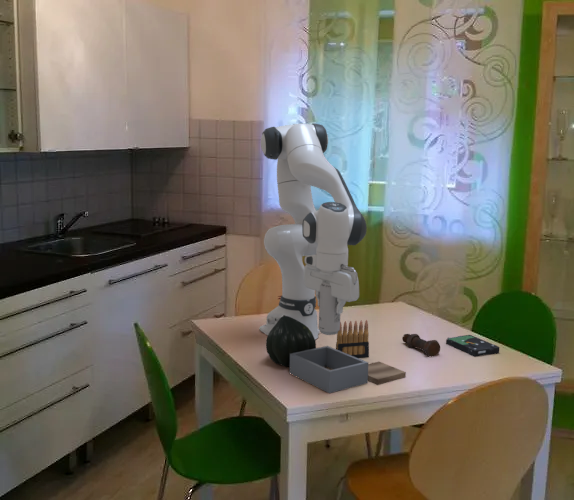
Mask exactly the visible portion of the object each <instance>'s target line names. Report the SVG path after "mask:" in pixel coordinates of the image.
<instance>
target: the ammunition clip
mask: <svg viewBox="0 0 574 500" xmlns="http://www.w3.org/2000/svg"><path fill="white" fill-rule="evenodd" d="M353 323H354V324H353ZM369 336H370V335H369V323H368V320H367V319H366V320H365V322H364V324H363V321H362V320H360V322H359V326H358V321H357V320H355V321H354V322H352V320H350V321H349V323H348V324H347V321H346V320H345V321H344V323H343V326H342V322H341V321H340V330H339V331H338V333H337V334H336V342H335V343H336V344H335V349H337V350H339V351H341V352H344V353H346V354H349V355H351V356H354V357H356V358H359V359H367V358H370V341H369Z"/></svg>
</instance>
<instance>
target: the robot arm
mask: <svg viewBox="0 0 574 500" xmlns="http://www.w3.org/2000/svg"><path fill="white" fill-rule="evenodd" d="M328 144H329V136H328V132H327V130H326V128H325V126H324V125H322V124H320V123H311V124H310V123H309V124H308V123H301V122H300V123H292V124H287V125H281V126H280V125H279V126H271V127H268V128H265V129H264V131H263V132H262V133H261V137H260V148H261V151H262V153H263V156H264V157H266V159H270V160H273V161H275V160H276V161H277V162H276V163H277V164H276V183H277V194H278V202H279V206H280V209H281V210H282V211H283V212H286V213H287V214H289V215H290V217H292V219H293V221H294V223H292V224H291V223H290V224H289V223H288V224H281V225H277V226H273V227H270V228H268V230H267V231H266V232H265V234H264V237H263V245H264V248H265V251H266V252H267V254H268V255H269V256H270V257H272V258H273V259H274V260H275V261H276V263H277V265H278V266H279V269H280V272H281V273H280V274H281V282H282V283H281V284H282V288H281V289H282V290H281V291H282V294H281V295H278V296H277V300H279V302H278V305H277V306H276V307H275V308H274V309H272V310H270V311H269V312H268V313H267V315H266V321H265V323H266V324H263V325H261V326H260V327H259V331H260V332H261V333H264V335H266V336H268V334H269V332H270V331H271V330H272V328H273V327H274V326H275V325H276V323H277V322H278V320H279V319H280V318H281V317H282V316H283V315H285V316H289V317H291V318H293V319H296V320H297V321H299V322H301V323H303V324H304V325H305V326H307V327H308V328H309V330H310V331H311V332H312V334H313V336H314V339H315V340H317V339H318V338H319V334H321V332H320V330H319V329H318V328H319V322H318V313H317V310H316V307H317V306H318V307H319V302H320V285H321V284H322V282H323V281H326V282H330V286H331V295H332V296H333V297H336V298H337V302H339V303H338V305H337V306H336V307H335V313H338V314H340V315H342V314H343V312H344V307H345V305H346V304H347V302H348V303H351V302H355V301H357V300H358V299H359V298H360V284H359V283H360V282H359V277H358V272H357V270H356V269H355V268H354V267H353V266H348V265H349V248H348V247H349V246H356V245H358V244H359V243H360V242H361V241H362V240H363V239H364V238H365V237H366V235H367V230H368V229H367V228H368V227H367V223H366V220H365V219H366V218H365V217H364V215H363V214H362V212H361V211H360V210H359V208H358V207H357V205H356V203H355V200H354V198H353V196H352V193H351V191H350V189H349V187H348V186H347V183H346V182H345V179H344V178H343V175H342V173H341V172H340V170H339V169H337V168H336V167H335V166H333V165H332V164H331V163H330V162H329V161H328V160H327V158H326V157H325V154H324V153H325V152H326V151H327V149H328ZM312 187H314V188H316V189H317V188H318V189H320V190H323V191H325V192H326V193H328V194H329V195H331V197H332V200H334V201H328V202H327V201H326V202H323V203H321V204H320V206H319V207H318V209H316V207H315V205H314V201H313V200H314V199H313V195H312V194H313V193H312ZM303 257H304V263H303ZM304 264H305V265H304ZM322 280H323V281H322ZM316 304H317V305H316Z"/></svg>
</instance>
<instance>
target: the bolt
mask: <svg viewBox="0 0 574 500" xmlns="http://www.w3.org/2000/svg"><path fill="white" fill-rule="evenodd" d="M402 341H403V342H404V343H405V344H407V346H408V347H409V348H411V349H416V348H415V347H417V349H418V350H422V351H424V353H425V355H426V356H427V357H429V356H431V358H432V356H433V357H437V356H438V355H439V353H440V352H441V345H440V343H439V341H438V340H437V339H433V340H432V339H431V340H426V339H423V338H421V337H420V335H419V334H417V333H411V334H410V333H404V334H403V336H402Z"/></svg>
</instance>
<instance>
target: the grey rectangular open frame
mask: <svg viewBox="0 0 574 500" xmlns="http://www.w3.org/2000/svg"><path fill="white" fill-rule="evenodd" d="M368 364H369V362H368V361H366V360H364V359H362V358H356V357H354V356H351V355H349V354H346V353H344V352H341V351H339V350H337V349H336V348H334V347H331V346H329V345H326V346H325V345H324V346H321V347H316V348H315V349H310V350H306V351H301V352H296V353H292V354H290V365H289V374H290V373H291V374H293V375H294V376H293V375H292V376H293V377H295V376H297V377H299V378H300V380H301V379H303V380H304V382H305V381H306V383H307V382H308V383H307V384H309V383H310V384H309V385H311V384H312V386H313V385H314V387H315V386H316V388H317V387H318V388H317V389H320V390H322V391H323V392H325V393H328V394H331V393H335V392H339V391H342V390H347V389H350V388H353V387H358V386H362V385H365V384H368V383H369V382H368ZM291 374H290V375H291ZM297 377H296V378H297ZM299 378H298V379H299ZM303 380H302V381H303Z"/></svg>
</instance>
